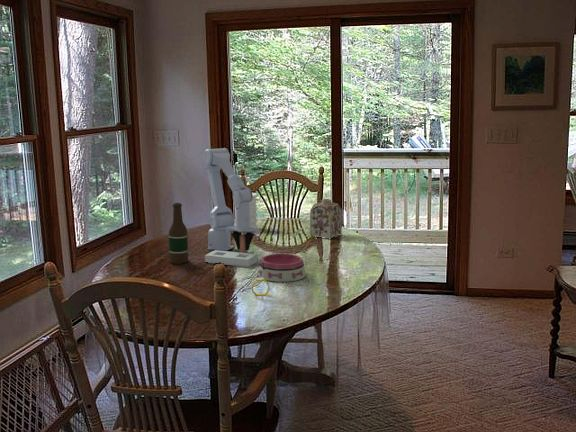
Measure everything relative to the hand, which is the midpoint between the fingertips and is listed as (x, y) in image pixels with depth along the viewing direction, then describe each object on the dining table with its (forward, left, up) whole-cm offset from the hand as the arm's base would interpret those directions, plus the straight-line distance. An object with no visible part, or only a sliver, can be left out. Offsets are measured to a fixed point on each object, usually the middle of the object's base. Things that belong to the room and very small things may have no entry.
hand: (243, 249), depth 251 cm
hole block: (-1, -10, -3) cm, 10 cm away
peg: (0, 0, -3) cm, 3 cm away
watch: (+26, -45, -3) cm, 52 cm away
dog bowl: (+25, -21, -3) cm, 32 cm away
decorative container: (-20, +50, -3) cm, 54 cm away
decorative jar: (+22, +49, -3) cm, 54 cm away
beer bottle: (-21, -17, -3) cm, 27 cm away
